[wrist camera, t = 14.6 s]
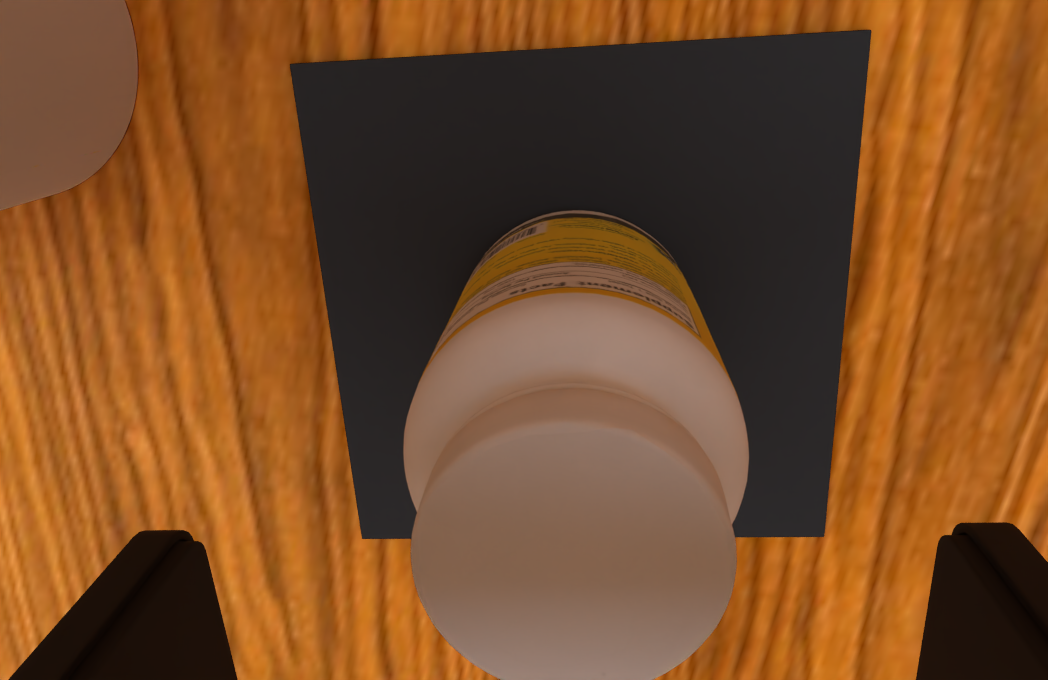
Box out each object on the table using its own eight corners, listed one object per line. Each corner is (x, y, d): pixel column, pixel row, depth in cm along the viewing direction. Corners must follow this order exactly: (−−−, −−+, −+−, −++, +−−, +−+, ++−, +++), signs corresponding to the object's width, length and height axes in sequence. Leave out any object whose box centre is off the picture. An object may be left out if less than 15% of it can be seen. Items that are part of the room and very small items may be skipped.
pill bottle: (642, 446, 23) (689, 786, 12) (438, 379, 22) (312, 669, 12) (730, 248, 20) (875, 461, 10) (504, 170, 20) (418, 308, 10)
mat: (363, 535, 25) (361, 538, 25) (292, 64, 20) (289, 63, 20) (822, 533, 24) (824, 536, 23) (868, 30, 19) (871, 29, 18)
